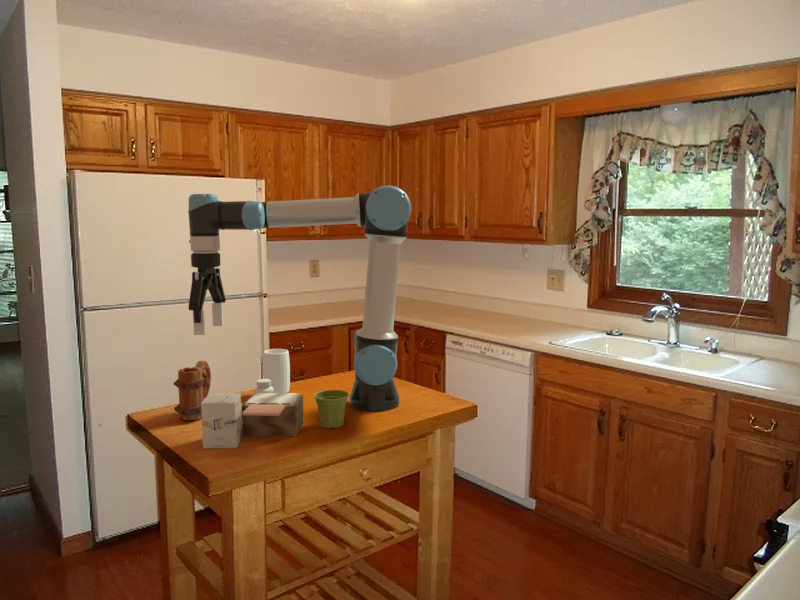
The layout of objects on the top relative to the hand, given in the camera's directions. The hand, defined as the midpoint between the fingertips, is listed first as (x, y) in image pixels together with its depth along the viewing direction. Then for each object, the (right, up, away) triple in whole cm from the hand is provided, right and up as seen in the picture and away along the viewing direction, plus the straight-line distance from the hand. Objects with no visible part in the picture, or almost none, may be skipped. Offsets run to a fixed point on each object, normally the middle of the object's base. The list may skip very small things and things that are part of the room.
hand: (209, 330), depth 168 cm
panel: (+18, -20, -13) cm, 30 cm away
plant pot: (+33, -26, 0) cm, 42 cm away
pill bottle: (+13, -25, +11) cm, 30 cm away
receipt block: (+18, -26, -3) cm, 32 cm away
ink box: (+7, -28, -13) cm, 32 cm away
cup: (+13, -22, +30) cm, 39 cm away
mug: (-6, -25, +9) cm, 27 cm away
